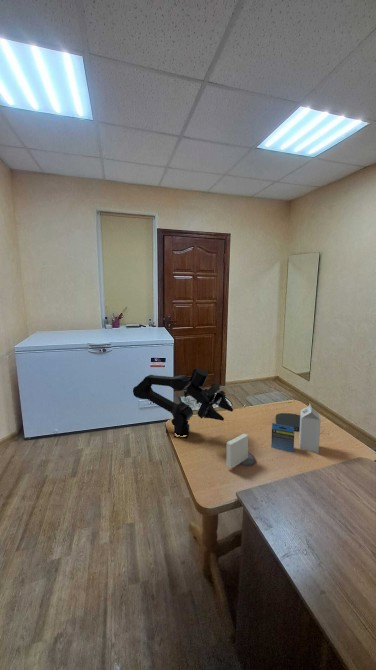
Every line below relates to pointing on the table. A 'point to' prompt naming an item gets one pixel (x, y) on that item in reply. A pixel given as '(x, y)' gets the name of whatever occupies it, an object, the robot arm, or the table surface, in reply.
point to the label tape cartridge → (282, 437)
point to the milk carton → (309, 430)
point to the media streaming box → (288, 420)
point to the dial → (239, 452)
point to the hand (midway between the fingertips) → (228, 415)
